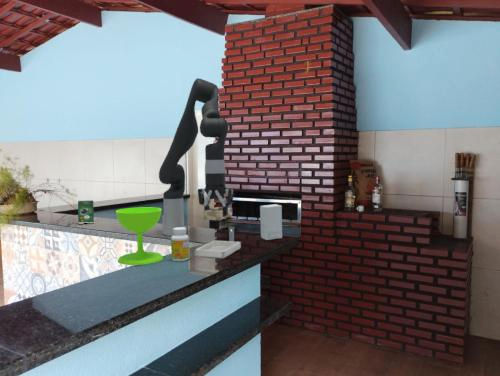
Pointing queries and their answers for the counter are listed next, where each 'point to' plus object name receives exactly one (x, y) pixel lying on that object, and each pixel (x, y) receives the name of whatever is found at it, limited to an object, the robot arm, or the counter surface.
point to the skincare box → (271, 221)
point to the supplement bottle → (180, 244)
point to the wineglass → (139, 232)
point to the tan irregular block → (215, 213)
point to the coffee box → (85, 211)
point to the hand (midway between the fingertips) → (216, 216)
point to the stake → (231, 233)
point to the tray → (218, 249)
